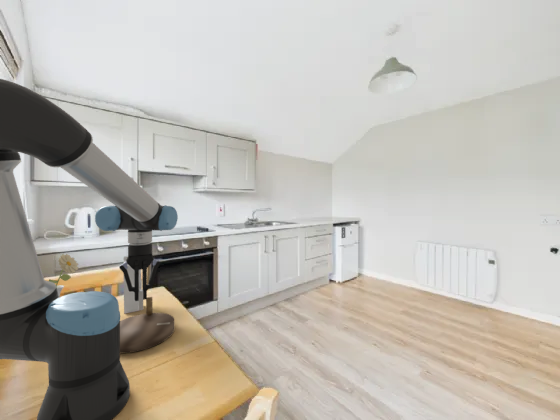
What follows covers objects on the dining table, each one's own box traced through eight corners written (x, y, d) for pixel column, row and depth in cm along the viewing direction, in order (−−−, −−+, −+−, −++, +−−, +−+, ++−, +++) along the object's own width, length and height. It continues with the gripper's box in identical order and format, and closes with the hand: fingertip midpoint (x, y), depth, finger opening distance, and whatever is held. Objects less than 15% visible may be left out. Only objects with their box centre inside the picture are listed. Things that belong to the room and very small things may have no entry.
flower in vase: (50, 336, 79) (48, 260, 78) (23, 333, 81) (21, 258, 80) (89, 318, 91) (88, 252, 91) (64, 315, 94) (63, 251, 93)
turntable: (89, 357, 68) (89, 326, 67) (119, 323, 87) (119, 299, 87) (167, 347, 72) (166, 318, 72) (179, 317, 92) (179, 294, 91)
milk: (124, 308, 100) (123, 255, 100) (141, 305, 104) (140, 253, 103) (124, 313, 95) (123, 258, 95) (141, 310, 98) (140, 256, 98)
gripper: (118, 246, 80) (119, 317, 80) (161, 243, 87) (162, 308, 88) (118, 243, 86) (119, 309, 87) (158, 240, 93) (159, 301, 94)
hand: (140, 308), depth 87 cm, fingers closed
